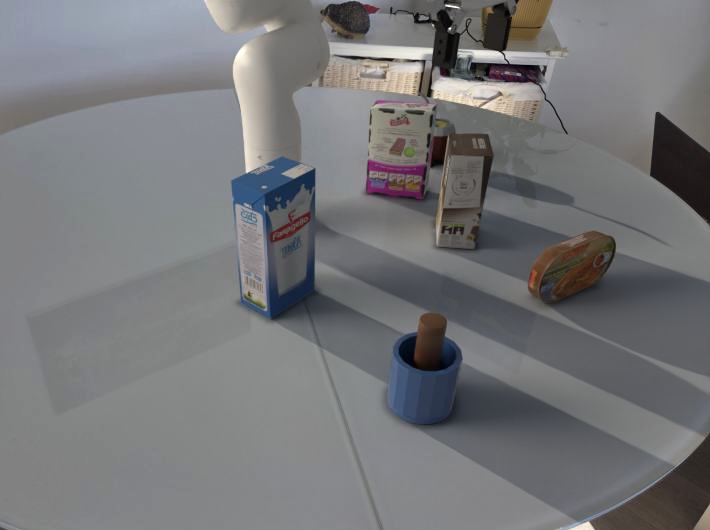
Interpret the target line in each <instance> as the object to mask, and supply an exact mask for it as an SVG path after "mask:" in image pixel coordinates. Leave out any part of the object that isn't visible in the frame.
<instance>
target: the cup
mask: <svg viewBox="0 0 710 530" xmlns="http://www.w3.org/2000/svg"><path fill="white" fill-rule="evenodd" d="M417 333H418V331H413V332H409V333H406V334H403V335H402V336H401V337H399V338H398V339H397V340H396V341H395V342H394V344H393V345H392V352H391V360H390V367H389V368H390V369H389V377H388V386H387V397H386V398H387V404H388V407H389V409H390V411H392V413H394V415H396V416H397V417H398V418H400V419H401V420H404V421H405V422H408V423H411V424H415V425H433V424H436V423H440V422H442V421H443V420H445V419H446V418H447V417H449V415H450V413H451V412H452V410H453V405H454V403H455V398H456V393H457V390H458V389H457V388H458V384H459V378H460V374H461V369H462V365H463V360H464V359H463V352H462V349H461V348H460V347H459V345H458V344H457V343H456V342H455V341H454V340H452V338H449V337H448V336H446V335H445V338H444V344H443V349H442V355H441V361H440V366H439V371H435V372H434V371H422V370H419V369H416V368H413V361H414V354H415V347H416V340H417Z"/></svg>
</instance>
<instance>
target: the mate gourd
mask: <svg viewBox="0 0 710 530" xmlns="http://www.w3.org/2000/svg"><path fill="white" fill-rule="evenodd" d="M416 93H417V94H418V95H419V96H420V97H421V98H422V99H423V100H424V103H430V100H429V99H428V98H427V96H426V95H425V94H423V93H422V92H420V91H418V90H416ZM448 134H457V133H456V127H455V124H454V123H453V121H451V120H450V119H447V118H439V117H436V123H435V131H434V139H433V148H432V156H431V165H430V168H432V167H433V165H434V164H435V163H436V164H442V165H444V161H445V154H446V147H447V140H448Z"/></svg>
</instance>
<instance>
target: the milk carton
mask: <svg viewBox="0 0 710 530" xmlns="http://www.w3.org/2000/svg"><path fill="white" fill-rule="evenodd" d="M316 170H317V168H316V167H314V166H311V165H308V164H306V163H302V162H301V163H299V162H297V161H294V160H291V159H288V158H285V157H280V158H278V159H275V160H273V161H271V162H269V163H267V164H265V165H263V166H261V167H259V168H256V169H254V170H252V171H250V172H248V173H246V172H245V173H243V174H242V175H240V176H238V177H237V176H236V177H235V178H232V179H231V180H230V184H231V196H232V208H233V210H232V211H233V221H234V232H235V244H236V246H235V247H236V257H237V268H238V269H237V271H238V281H239V293H240V303H241V304H242V305H244V306H246V307H248V308H250V309H251V310H253V311H254V312H257V313H259V314H260V315H262V316H263V317H265V318H267V319H269V320H271V319H273V318H274V317H277V315H279V314H281V313H282V312H283V311H285V310H287V309H288V308H290V307H291V306H293V305H294V304H296V303H298V302H299V301H301V300H302V299H304V298H305V297H307V296H309V294H311V293H313V292H314V291H315V290H316V289H315V283H316V282H315V281H316V280H315V279H316V271H315V270H316V269H315V268H316V176H317V175H316V172H317V171H316Z"/></svg>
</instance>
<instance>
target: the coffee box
mask: <svg viewBox="0 0 710 530" xmlns="http://www.w3.org/2000/svg"><path fill="white" fill-rule="evenodd" d="M490 139H491V138H490V135H489V133H477V132H476V133H473V132H471V133H456V134H448V140H447V147H446V154H445V161H444V164H443V167H442V168H443V169H442V176H441V183H440V188H439V197H438V205H437V211H436V216H435V234H436V235H435V236H436V247H438V248H450V249H465V250H474V249H475V248H476V244H477V239H478V235H479V229H480V225H481V220H482V214H483V209H484V204H485V201H486V200H485V199H486V196H487V195H486V194H487V191H488V190H487V189H488V186H489V180H490V176H491V170H492V166H493V162H494V161H493V160H494V158H495V155H494V151H493V147H492V143H491V140H490Z"/></svg>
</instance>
